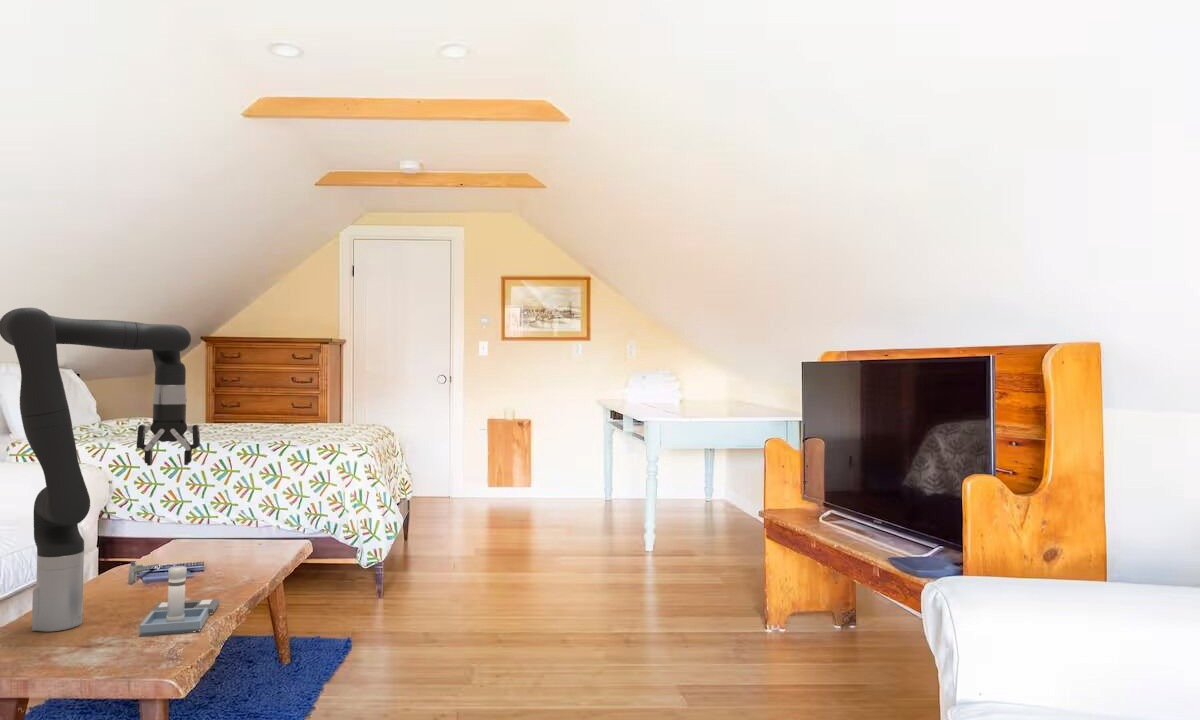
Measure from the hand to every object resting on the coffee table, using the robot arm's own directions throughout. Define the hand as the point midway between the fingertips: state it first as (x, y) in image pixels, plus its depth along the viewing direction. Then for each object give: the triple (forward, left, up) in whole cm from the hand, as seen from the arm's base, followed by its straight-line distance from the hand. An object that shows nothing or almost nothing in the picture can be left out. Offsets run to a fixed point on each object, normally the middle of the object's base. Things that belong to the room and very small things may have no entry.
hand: (168, 465), depth 207 cm
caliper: (-12, +33, -37) cm, 51 cm away
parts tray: (+6, -19, -36) cm, 41 cm away
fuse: (+6, -19, -35) cm, 40 cm away
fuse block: (+6, -7, -36) cm, 37 cm away
